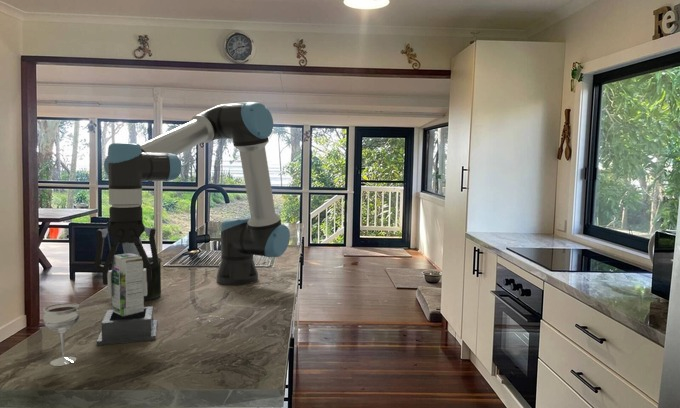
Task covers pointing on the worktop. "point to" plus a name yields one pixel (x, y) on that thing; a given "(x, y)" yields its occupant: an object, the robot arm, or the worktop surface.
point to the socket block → (128, 327)
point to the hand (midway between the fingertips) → (128, 295)
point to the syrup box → (127, 284)
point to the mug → (154, 282)
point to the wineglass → (61, 325)
